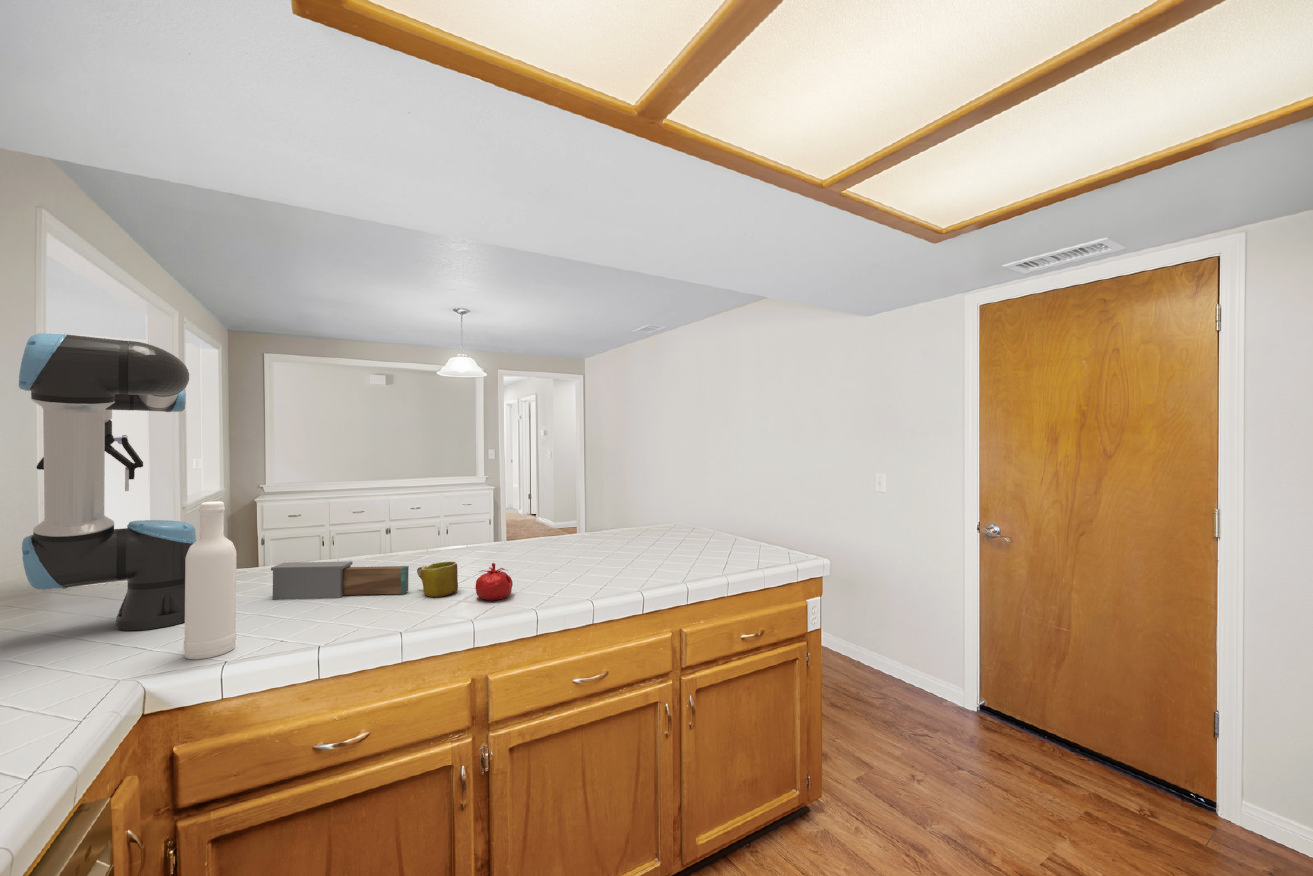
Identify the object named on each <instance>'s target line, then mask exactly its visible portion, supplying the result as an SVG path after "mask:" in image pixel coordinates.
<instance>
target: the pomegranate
mask: <svg viewBox="0 0 1313 876" xmlns="http://www.w3.org/2000/svg"><path fill="white" fill-rule="evenodd" d="M489 569H490V570H489ZM505 571H509V570H508V569H505V568H503V567H500V568H498V569H496V563H495V562H492V563H491V567H488V570H483V569H482V570H480V571H478V573H481V572H486V573H483V574H481V575H480V576H479V577H478V578H477V579H476V580H475V587H474V588H475V593H476V596H477V597H478V598H479V599H482V600H486V601H497V600H498V601H499V600H503V599H506V598H507V597H509V596H510V595H511V593H512V590H513V589H512V588H513V586H514V585H513V583H514V582H513V580H512V577H511V576H510V575H508V574H507V572H505Z"/></svg>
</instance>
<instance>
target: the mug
mask: <svg viewBox="0 0 1313 876" xmlns="http://www.w3.org/2000/svg"><path fill="white" fill-rule="evenodd" d="M416 573H417V576H418V577H419V578H420V579H421V582H422V589H423V593H424V595H425V596H427V597H430V598H442V597H445V596H449V595H452V594H454V593H455V592H457V591H458V589H459V583H458V564H457V562H456V561H441V562H435V563H431V564H428V565H421V566H419V567H418V568H417V569H416Z"/></svg>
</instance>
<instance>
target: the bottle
mask: <svg viewBox="0 0 1313 876" xmlns="http://www.w3.org/2000/svg"><path fill="white" fill-rule="evenodd" d="M198 510H199V511H198V513H199V515H200V516H199V538H198V539H196V540H197V541H196V542H195V543H194V544H192V545H191V546H190V548H189V550H188V552H187V555H186V558H185V622H184V640H183V650H184V651H183V653H184V655H183V657H184V658H185V659H189V660H204V659H209V658H214V657H218V656H222V655H224V654H227V653H230V652H232V651H233V650H234V649H235V647H236V640H237V631H236V629H237V627H236V624H237V623H236V621H237V620H236V619H237V550H236V546H235V544H234V543H233V541H232V540H231V539H229V538H227V537H226V536H225V535H224V533H225V532H224V529H225V528H224V527H225V526H224V523H225V518H224V516H225V510H226V508H225V502H223V501H218V500H217V501H205V502H201V503H200V504H199V509H198Z"/></svg>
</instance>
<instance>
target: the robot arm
mask: <svg viewBox="0 0 1313 876" xmlns="http://www.w3.org/2000/svg"><path fill="white" fill-rule="evenodd" d="M18 379H19V380H18V387H19V388H18V389H20V390H24V391H27V392H29V391H30V397H31V401H32V402H34V403H35V404H37V405H38V406H40V407H41V408H42V414H43V415H42V417H43V419H42V421H43V424H42V425H43V426H42V428H43V430H42V431H43V433H42V434H43V435H42V437H43V456H42V458H41V459H40V460H39V462H38V463H37V465H36V467H35V468H36V470H39V471H40V470H42V471H43V498H44V499H43V506H44V508H43V509H44V511H43V512H44V514H43V516H44V519H43V521H41V522H40V523H38V524H37V525H35V526H34V527H33V529H32V533H33V534H30V535H28V536H24V538H23V540H22V542H21V552H22V565H23V568H24V569H23V570H24V572H25V576H26V579H27V581H28V583H29V585H30V586H31V587H32V588H34V589H35V590H40V591H44V590H45V591H46V590H55V589H57V590H58V589H65V590H66V589H69V588H73V587H81V586H89V585H96V584H104V583H111V582H112V583H113V582H117V581H118V582H120V581H126V580H127V589H126V590H127V591H126V594H125V596H124V598H123V601H122V604H121V605H120V608H119V611H118V613H117V614H116V617H115V628H116V627H117V628H118V629H117V628H116V629H117V630H120V629H122V630H121V631H142V630H143V631H144V630H152V629H159V628H160V629H161V628H165V627H170V626H174V625H179V624H182V623H185V558H186V555H187V552H188V550H189V548H190V546H191V545H192V544H194V543H195V542H196V541H197V540H198V539H197V536H196V528H195V526H194V525H193V524H192V523H190V522H186V521H182V520H181V521H180V520H165V519H163V520H162V519H145V520H132V521H131V520H130V521H129V522H128V524H127V527H125V528H115V522H114V520H113V519H111V518H110V517H108V516H106V515H105V471H106V470H105V454H106V453H107V455H110V456H112V458H113V459H115V460H117V461H118V462H119V463H121V464H122V465H123V466H125V467H124V492H129V490H130V480H135V470H136V469H137V468H143V467H144V461H143V459H142V458H141V457H140V456H139V455H138V453H137V452H136V450H135V449H134V447H133V446H132V445H131V444H130V443H129V438H128V435H126V434H123V435H122V436H114V435H113V421H112V420H111V419H113V411H141V412H142V411H145V412H146V411H147V412H164V413H172V412H174V413H179V412H180V413H181V412H183V411H184V410H185V409H186V400H187V399H186V387H187V386H188V385H189V381H190V373H189V369H188V367H187V365H186V364H185V363H184V362H183V361H182V360H181V359H180V358H178V357H177V356H175V355H174V354H172V353H171V352H170V351H169V352H168V351H167V350H165V349H163V348H160V347H159V346H156V345H152V344H149V343H146V342H140V341H134V340H133V341H132V340H124V339H123V340H122V339H111V338H105V337H104V338H103V337H95V336H85V335H74V334H69V333H50V332H49V333H47V332H45V333H44V332H40V333H39V332H38V333H34V334H32V335H31V336H30V337H29V338H28V340H27V342H26V343H25V348H24V351H23V354H22V358H21V363H20V369H19V375H18ZM114 442H117V443H118V444H119V445H121V446H122V447H123V449H124V451H126V453H127V454H128V455H129V457H130V458H131V459H132V461H133V462H132V461H131V460H129V459H128V457H126V456H125V455H124V454H122V453H121V452H120V451H118V450H117V449H115V447H114V446H113V443H114Z"/></svg>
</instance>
